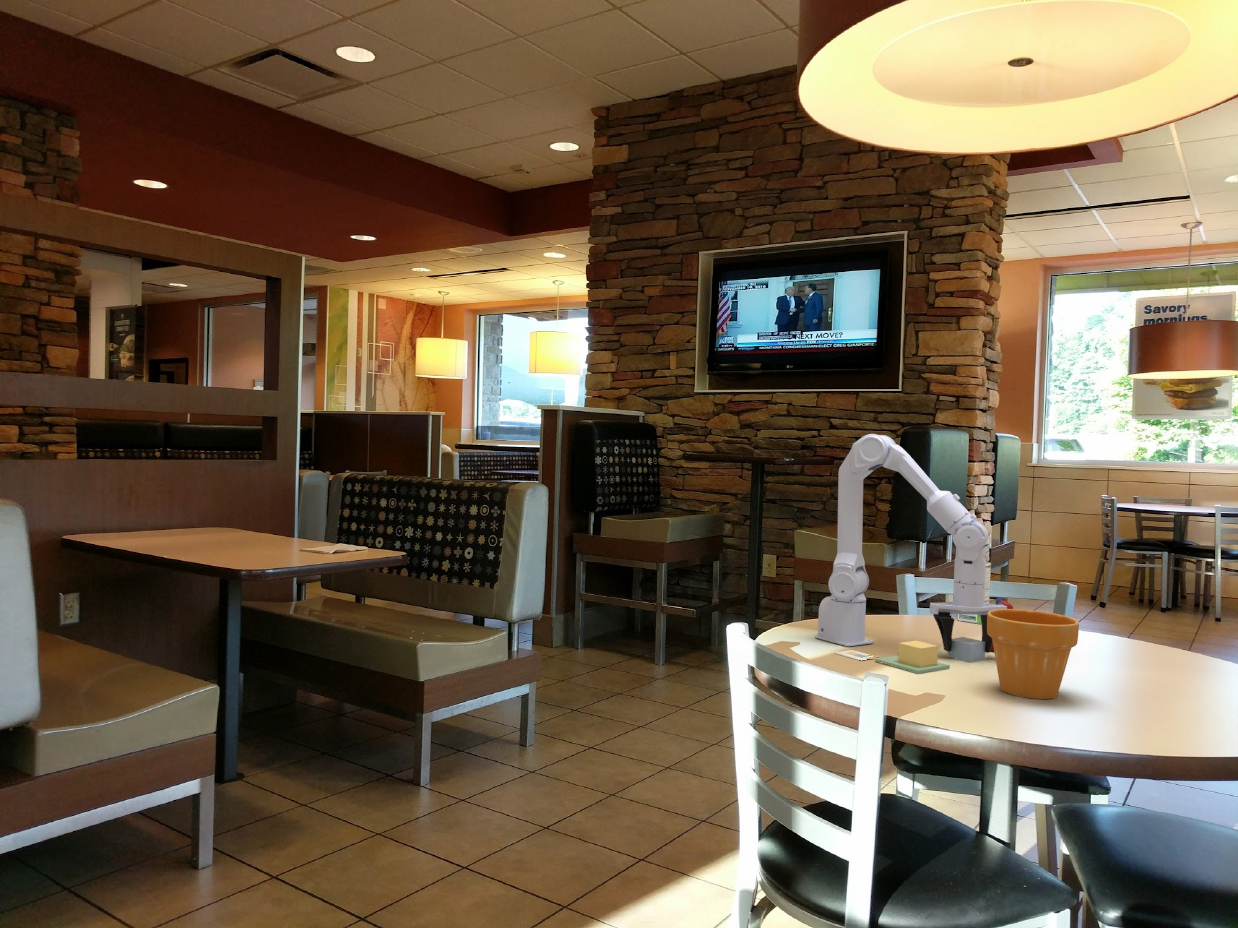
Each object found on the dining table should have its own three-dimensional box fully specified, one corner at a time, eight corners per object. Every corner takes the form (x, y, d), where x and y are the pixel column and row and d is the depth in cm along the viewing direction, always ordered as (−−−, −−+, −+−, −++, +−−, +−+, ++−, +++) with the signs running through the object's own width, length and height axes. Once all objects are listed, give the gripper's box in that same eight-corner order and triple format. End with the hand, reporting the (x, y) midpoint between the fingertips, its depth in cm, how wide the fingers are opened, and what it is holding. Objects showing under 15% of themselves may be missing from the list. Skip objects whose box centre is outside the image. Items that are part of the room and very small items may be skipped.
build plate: (875, 661, 171) (875, 658, 171) (906, 656, 176) (906, 653, 176) (918, 673, 163) (918, 670, 162) (949, 668, 167) (949, 665, 167)
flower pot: (1062, 685, 158) (1065, 611, 158) (1087, 707, 144) (1090, 627, 144) (977, 678, 161) (980, 606, 160) (993, 699, 147) (996, 621, 147)
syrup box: (956, 620, 216) (959, 561, 215) (965, 617, 220) (967, 559, 220) (981, 624, 212) (983, 563, 212) (989, 621, 217) (991, 561, 216)
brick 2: (947, 656, 177) (948, 639, 177) (961, 653, 180) (962, 636, 180) (970, 662, 173) (971, 644, 173) (984, 659, 176) (985, 641, 176)
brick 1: (898, 661, 169) (898, 642, 169) (915, 658, 172) (916, 640, 172) (919, 667, 165) (920, 648, 165) (937, 664, 168) (938, 645, 168)
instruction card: (834, 653, 177) (834, 651, 177) (852, 650, 180) (852, 649, 180) (861, 661, 171) (861, 659, 171) (879, 658, 174) (879, 657, 174)
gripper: (996, 580, 180) (994, 647, 181) (925, 578, 180) (922, 645, 180) (1012, 585, 173) (1009, 655, 173) (938, 583, 173) (935, 653, 173)
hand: (966, 650), depth 176 cm, fingers closed on brick 2, 7 cm apart
